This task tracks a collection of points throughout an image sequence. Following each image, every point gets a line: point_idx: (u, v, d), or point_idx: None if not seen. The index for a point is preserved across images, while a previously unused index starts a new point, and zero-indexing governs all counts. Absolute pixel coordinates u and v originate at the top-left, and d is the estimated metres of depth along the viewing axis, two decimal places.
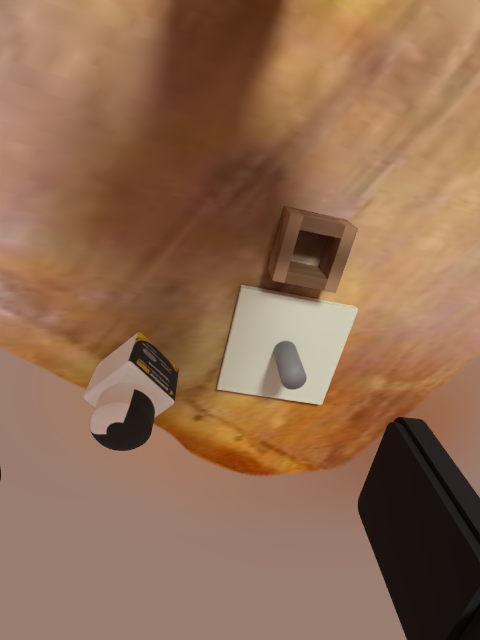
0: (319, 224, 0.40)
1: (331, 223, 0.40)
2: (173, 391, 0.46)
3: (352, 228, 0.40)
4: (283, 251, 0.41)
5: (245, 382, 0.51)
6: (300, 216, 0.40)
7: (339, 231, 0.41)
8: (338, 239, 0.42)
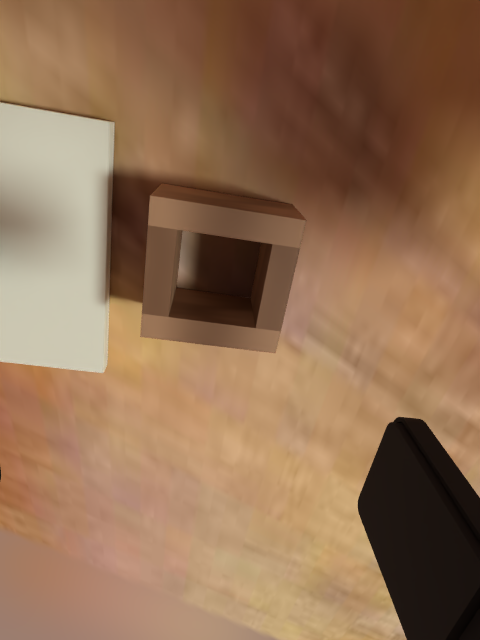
0: (283, 281, 0.20)
1: (285, 305, 0.20)
2: None
3: (275, 343, 0.21)
4: (223, 214, 0.18)
5: None
6: (299, 242, 0.19)
7: (269, 322, 0.21)
8: (250, 321, 0.21)
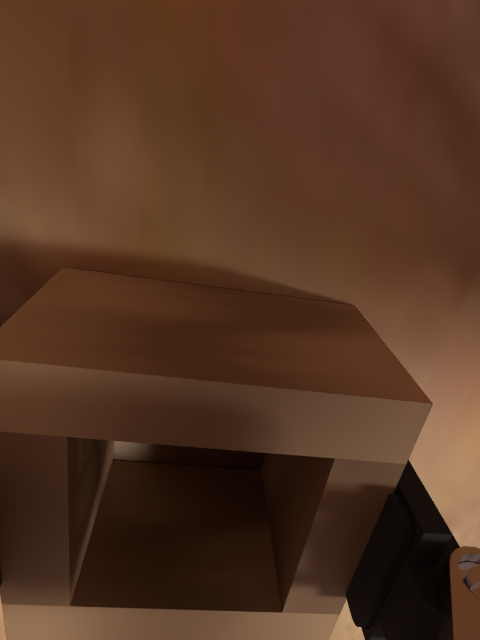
0: (355, 529, 0.08)
1: (354, 569, 0.08)
2: None
3: (326, 634, 0.09)
4: (200, 397, 0.06)
5: None
6: (406, 449, 0.07)
7: (314, 601, 0.09)
8: (267, 581, 0.09)
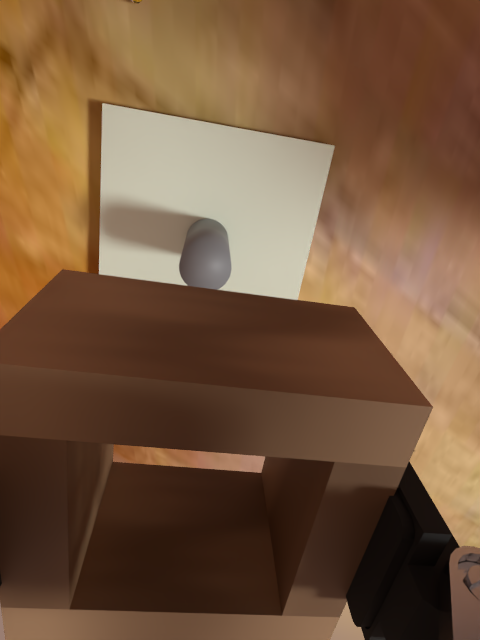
0: (356, 533, 0.08)
1: (354, 572, 0.08)
2: None
3: (326, 637, 0.09)
4: (200, 400, 0.06)
5: (129, 168, 0.25)
6: (406, 453, 0.07)
7: (314, 604, 0.09)
8: (267, 583, 0.09)
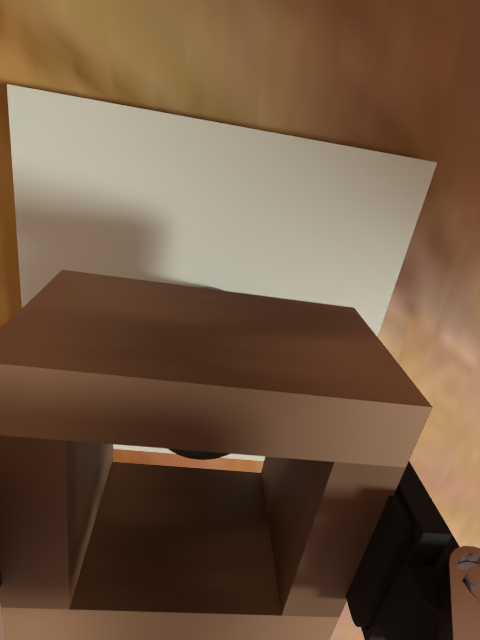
0: (354, 533, 0.08)
1: (354, 572, 0.08)
2: None
3: (326, 636, 0.09)
4: (199, 400, 0.06)
5: (68, 204, 0.14)
6: (405, 453, 0.07)
7: (314, 604, 0.09)
8: (267, 583, 0.09)
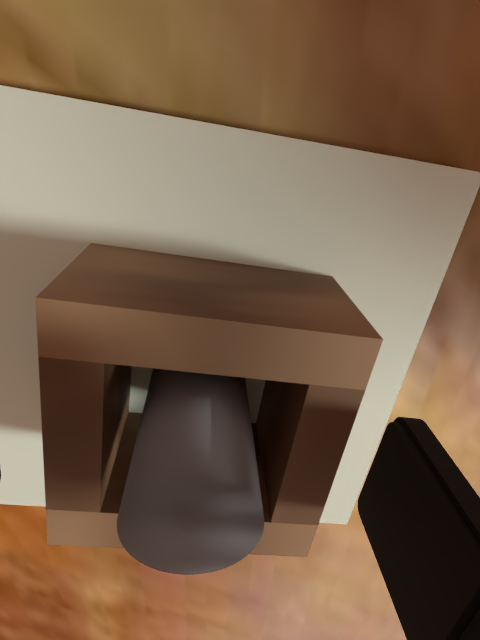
0: (328, 447, 0.10)
1: (328, 484, 0.10)
2: None
3: (307, 543, 0.11)
4: (205, 331, 0.08)
5: (21, 227, 0.11)
6: (365, 378, 0.09)
7: (297, 512, 0.11)
8: None
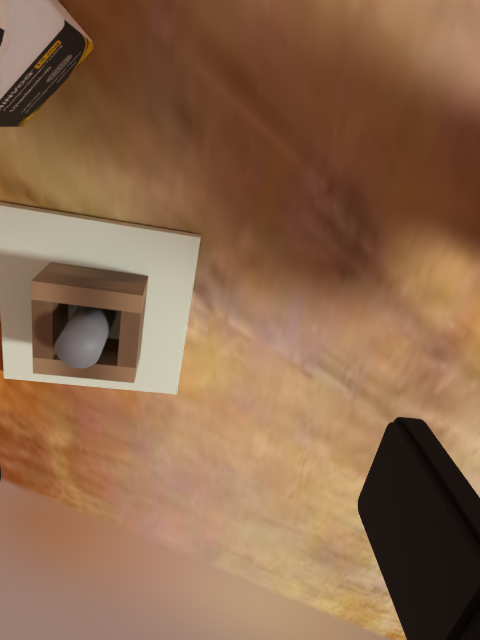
0: (132, 334, 0.28)
1: (136, 350, 0.29)
2: None
3: (133, 376, 0.30)
4: (84, 292, 0.27)
5: (23, 255, 0.29)
6: (140, 309, 0.28)
7: (126, 362, 0.29)
8: (115, 361, 0.30)
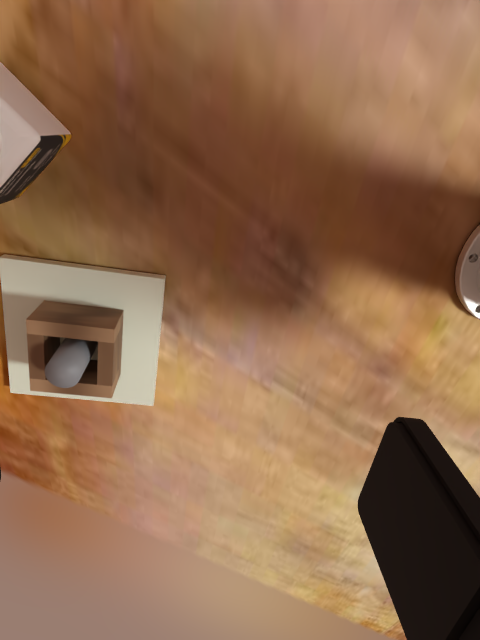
0: (108, 360, 0.35)
1: (111, 372, 0.36)
2: None
3: (110, 393, 0.37)
4: (67, 327, 0.34)
5: (22, 296, 0.36)
6: (113, 339, 0.34)
7: (104, 381, 0.36)
8: (96, 380, 0.37)
